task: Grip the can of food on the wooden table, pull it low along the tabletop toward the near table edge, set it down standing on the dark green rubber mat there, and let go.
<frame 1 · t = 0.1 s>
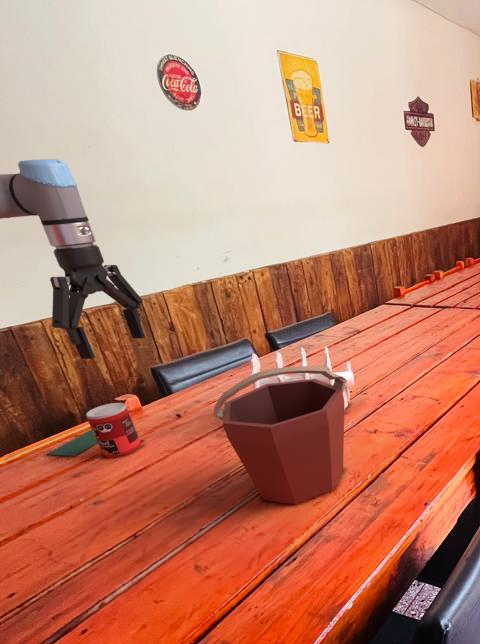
hand: (114, 347, 111), 26 cm above the table, tool pointing down, fingers open, 13 cm apart
edge mat: (85, 441, 130), on the table
bucket: (303, 482, 107), on the table
canned food: (123, 450, 125), on the table
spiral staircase: (311, 412, 139), on the table
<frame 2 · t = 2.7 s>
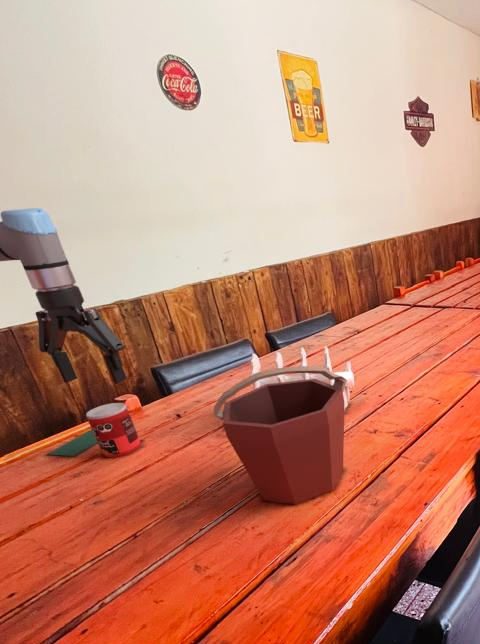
hand: (95, 381, 117), 18 cm above the table, tool pointing down, fingers open, 13 cm apart
nothing on the table moved.
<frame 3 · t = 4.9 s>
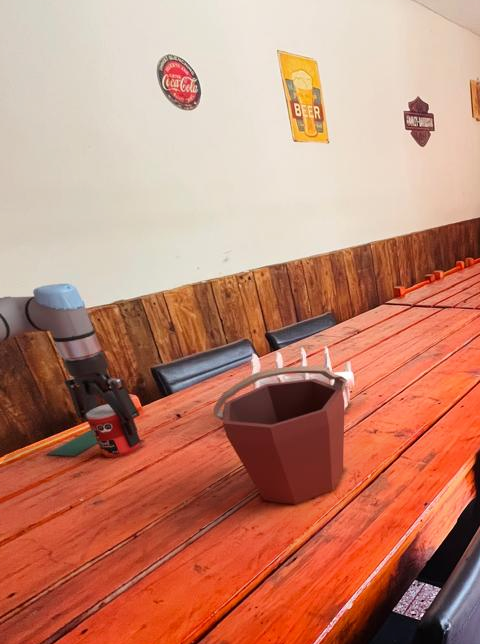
hand: (120, 443, 124), 2 cm above the table, tool pointing down, fingers closed on canned food, 8 cm apart
canned food: (123, 450, 125), on the table, touching gripper
everything else where it was.
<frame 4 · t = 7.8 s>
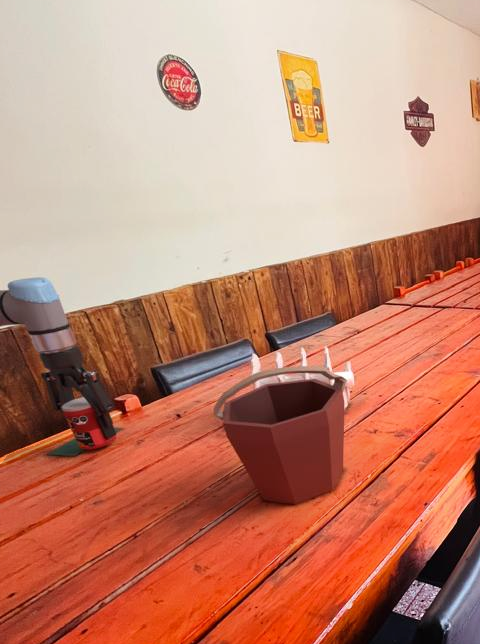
hand: (96, 436, 126), 3 cm above the table, tool pointing down, fingers closed on canned food, 8 cm apart
canned food: (99, 442, 127), point 1 cm above the table, touching gripper
everything else where it was.
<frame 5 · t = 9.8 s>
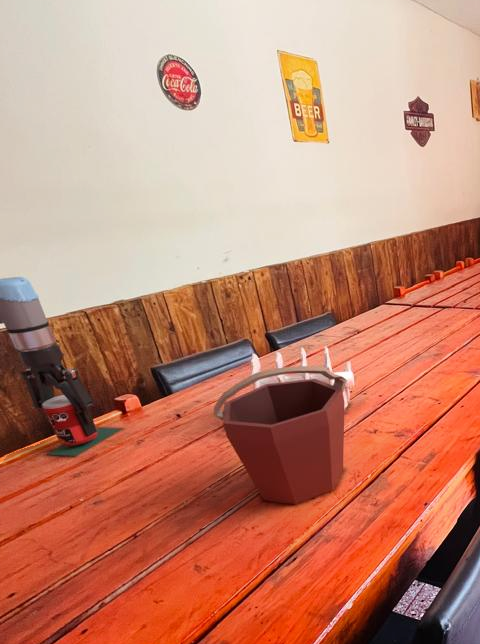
hand: (77, 433, 128), 3 cm above the table, tool pointing down, fingers closed on canned food, 8 cm apart
canned food: (80, 439, 129), point 1 cm above the table, touching gripper
everything else where it was.
when the fingers open (2 cm above the table, at t = 11.0 s): canned food stays where it is, resting on edge mat.
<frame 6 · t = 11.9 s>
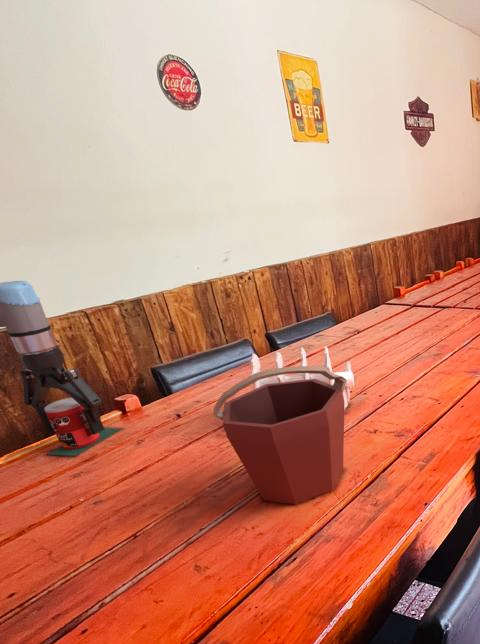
hand: (76, 430, 128), 4 cm above the table, tool pointing down, fingers open, 13 cm apart
canned food: (82, 443, 129), resting on edge mat
everything else where it was.
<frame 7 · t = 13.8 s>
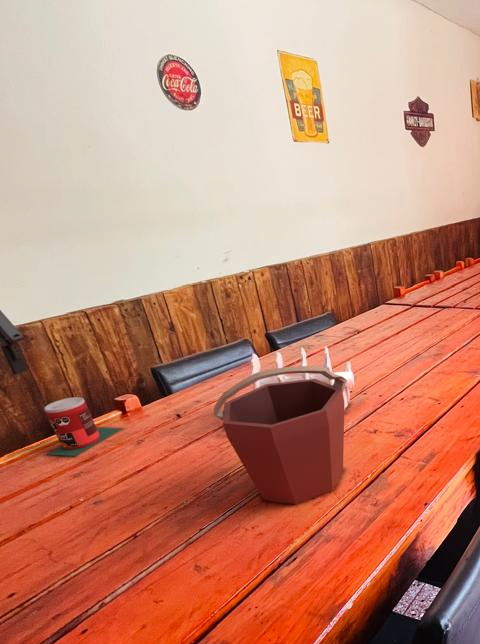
nothing on the table moved.
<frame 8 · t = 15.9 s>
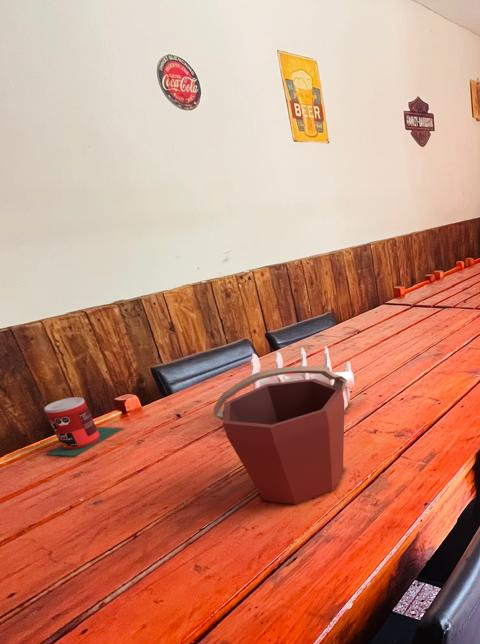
nothing on the table moved.
at the end: canned food inside the target area (0.5 cm from its centre), resting on edge mat; canned food tilted 0°; the gripper is holding nothing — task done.
